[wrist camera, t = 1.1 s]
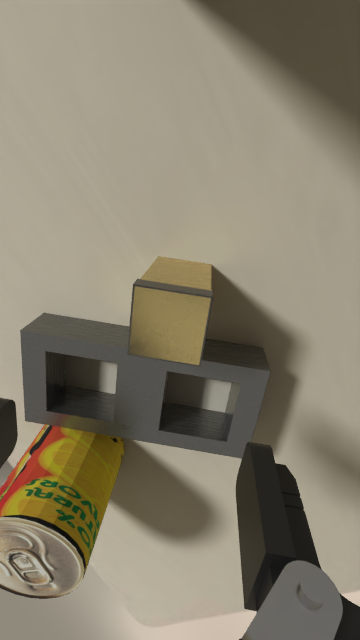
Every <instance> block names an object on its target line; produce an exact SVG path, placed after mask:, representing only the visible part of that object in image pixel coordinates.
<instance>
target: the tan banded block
mask: <svg viewBox="0 0 360 640" xmlns="http://www.w3.org/2000/svg"><path fill="white" fill-rule="evenodd" d="M212 300H213V291H212V290H211V264H205V263H199V262H192V261H186V260H179V259H173V258H166V257H160V256H158V257H157V259H156V260H155V261H154V263H153V264H152V265H151V266H150V268H149V269H148V270H147V271H146V273H145V274H144V275H143V276H142V278H141V279H137V280H136V281H135V283H134V284H133V292H132V304H131V316H130V328H129V340H128V351H127V355H131V356H137V357H143V358H149V359H155V360H161V361H167V362H173V363H179V364H185V365H191V366H197V367H200V366H201V360H202V355H203V349H204V344H205V338H206V333H207V327H208V322H209V316H210V311H211V306H212Z"/></svg>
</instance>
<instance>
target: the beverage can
mask: <svg viewBox="0 0 360 640" xmlns="http://www.w3.org/2000/svg"><path fill="white" fill-rule="evenodd" d="M124 451H125V447H124V440H123V438H121V437H115V436H109V435H103V434H98V433H92V432H86V431H80V430H75V429H69V428H63V427H57V426H51V425H46V424H45V425H44V427H43V428H42V430H41V431H40V432H39V434H38V435H37V437H36V438H35V439H34V441H33V442H32V444H31V445H30V446H29V448H28V449H27V451H26V452H25V454H24V455H23V456H22V458H21V459H20V461H19V462H18V463H17V465H16V466H15V468H14V469H13V471H12V472H11V473H10V475H9V476H8V478H7V479H6V480H5V482H4V483H3V485H2V486H1V488H0V588H1V589H4V590H6V591H9V592H11V593H14V594H17V595H21V596H25V597H30V598H40V599H47V598H57V597H60V596H63V595H66V594H69V593H70V592H72V591H73V590H75V589H76V588H78V586H79V585H80V583H81V582H82V580H83V578H84V575H85V571H86V569H87V566H88V562H89V559H90V556H91V553H92V550H93V547H94V544H95V541H96V538H97V535H98V532H99V529H100V526H101V523H102V520H103V517H104V514H105V511H106V508H107V505H108V502H109V499H110V496H111V493H112V490H113V487H114V484H115V481H116V478H117V475H118V472H119V468H120V465H121V462H122V459H123V456H124Z"/></svg>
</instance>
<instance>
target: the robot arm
mask: <svg viewBox="0 0 360 640" xmlns="http://www.w3.org/2000/svg"><path fill="white" fill-rule="evenodd" d="M17 436H18V434H17V419H16V406H15V402H14V401H13V400H9V399H4V398H0V468H1V467H2V465H3V464H4V462H5V461H6V460H7V459H8V457H9V456H10V455H11V453H12V452H13V450H14V447H15V445H16V442H17ZM236 502H237V516H238V529H239V542H240V555H241V568H242V582H243V595H244V608H245V609H248V610H253V611H257V614H256V616H255V617H254V619H253V621H252V622H251V624H250V626H249V627H248V629H247V631H246V632H245V634H244V635H243V637H242V638H241V639H239V640H360V607H359V606H357V605H355V604H354V603H352V602H350V601H348V600H347V599H346V598H345V597H343V596H342V595H341V594H340V593H339V592H338V590H337V588H336V586H335V584H334V583H333V582H332V580H331V579H330V578H329V577H328V575H327V574H326V573H325V572H323V571H322V569H321V567H320V564H319V561H318V557H317V554H316V550H315V547H314V543H313V539H312V536H311V532H310V529H309V525H308V522H307V518H306V515H305V511H304V510H303V509H304V507H303V504H302V500H301V498H300V493H299V490H298V486H297V483H296V479H295V478H294V477H293V475H292V474H291V472H290V471H289V469H288V468H287V467H286V465H282V464H276V463H275V460H274V456H273V452H272V448H271V446H269V445H263V444H257V443H252V442H248V443H247V444H246V447H245V451H244V454H243V458H242V461H241V465H240V468H239V472H238V476H237V482H236Z"/></svg>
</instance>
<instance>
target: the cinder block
mask: <svg viewBox="0 0 360 640" xmlns="http://www.w3.org/2000/svg"><path fill="white" fill-rule="evenodd" d="M129 328H130V327H128V326H122V325H115V324H109V323H103V322H97V321H91V320H85V319H78V318H72V317H66V316H60V315H54V314H47V313H43V314H42V315H41V316H39V317H38V318H37V319H35V320H34V321H33V322H31V323H30V324H28V325H27V326H26V327H24V328H23V329H22V330H20V332H21V351H22V370H23V389H24V407H25V421H28V422H34V423H40V424H46V425H51V426H57V427H63V428H69V429H75V430H80V431H86V432H92V433H98V434H103V435H109V436H115V437H121V438H127V439H132V440H138V441H144V442H150V443H156V444H161V445H167V446H173V447H179V448H184V449H190V450H196V451H202V452H208V453H213V454H219V455H225V456H231V457H237V458H243V454H244V451H245V447H246V444H247V443H248V442H251V440H252V436H253V433H254V429H255V426H256V422H257V418H258V415H259V411H260V408H261V404H262V400H263V397H264V393H265V390H266V386H267V382H268V379H269V375H270V372H271V371H270V368H269V365H268V362H267V359H266V356H265V353H264V350H263V348H258V347H252V346H245V345H239V344H233V343H227V342H221V341H214V340H208V339H205V344H204V349H203V355H202V360H201V366H200V367H197V366H191V365H185V364H179V363H173V362H167V361H161V360H155V359H149V358H143V357H137V356H131V355H127V351H128V340H129ZM65 354H66V355H72V356H78V357H84V358H90V359H96V360H102V361H108V362H114V363H118V367H117V380H116V394H110V393H104V392H98V391H92V390H86V389H80V388H74V387H68V386H65ZM169 372H175V373H181V374H187V375H193V376H199V377H205V378H211V379H217V380H223V381H229V382H232V385H231V390H230V394H229V398H228V403H227V407H226V411H225V413H222V412H216V411H211V410H205V409H199V408H193V407H187V406H181V405H175V404H169V403H165V396H166V389H167V382H168V375H169Z"/></svg>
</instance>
